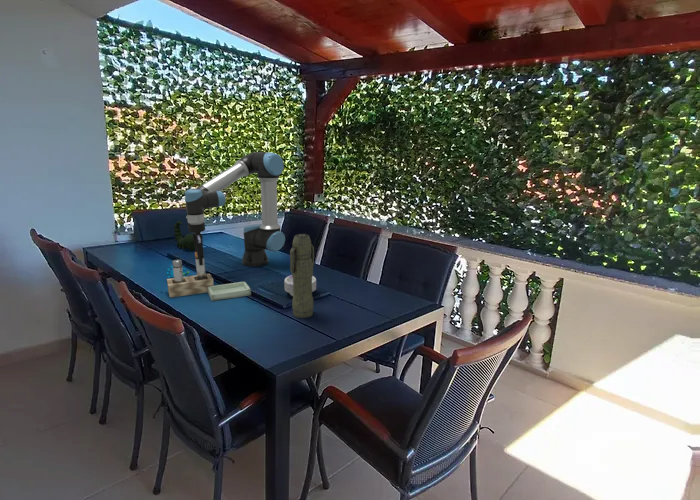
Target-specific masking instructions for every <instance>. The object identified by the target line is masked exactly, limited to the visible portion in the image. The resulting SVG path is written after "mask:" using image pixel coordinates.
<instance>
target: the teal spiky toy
mask: <svg viewBox="0 0 700 500" xmlns="http://www.w3.org/2000/svg"><path fill="white" fill-rule="evenodd" d="M169 267H170V268H169ZM169 267H168V268H167V269H166V276H167V279H171V278H174V271H173V265H170V266H169ZM182 270H183V277H187V276H188V275H189V273H190V271H188V270H186V268H185V267H182Z"/></svg>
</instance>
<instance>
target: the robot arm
mask: <svg viewBox="0 0 700 500" xmlns="http://www.w3.org/2000/svg"><path fill="white" fill-rule="evenodd" d="M234 163H235V164H233V165H231V166H230V167H228V168H227V169H225V170H223V171H222V172H221V173H219V174H217V175H215V176H213V178H211V179H209V180H208V181H205V182H204V183H203V184H201V185H199V186H198V187H196V188H189V189H187V190H185V192H184V203H185V208H186V209H185V210H186V217H185V219H187V223H188V224H187V228H188V229H187V230H188V232H190V233H192V234H193V239H194V246H195V251H194V253H195V252H197V256H198V257H197V258H196V259H197V261H198V271H199V272H201V271H205V272H206V269H205V270H204V262H205V255H204V254H205V253H204V254H203V252H204V246H203V245H204V244H203V243H204V241H203V238H204V237H203V234H202V233H203V232H205V231H206V223H205V209H207V210H208V209H212V208H213V209H214V208H219V207H223V206H224V205H225V204H226V201H227V200H226V195H225V193H224V192H223V191H222V190H224V189H226V188H227V187H229V186H230V185H232V184H234V183H235V182H237V181H238V180H240V179H242V178H243V177H248V176H249V175H252V174H256V175H257V179H258V180H259V181H260V200H261V201H260V202H261V223H255V224H250V225H249V224H248V225H245V226H244V227H243V242H244V253H243V256H242V261H241V262H242V265H243V266H245V267H251V268H253V267H254V268H255V267H262V266H266V265H268V264H269V256H268V254H267V251H268V252H278V251H280V250H281V249H282V247H284V245H285V242H286V237H285V234H284V232H282V231H281V225H279V223H278V221H279V219H278V217H279V216H278V189H277V188H278V184H277V183H278V182H277V181H278V180H279V179H280V175H281V174H282V173H283V171H284V167H285V166H284V161H283V159H282V157H281V155H280V154H278V153H275V152H271V151H269V152H268V151H267V152H266V151H265V152H264V151H253V152H251V153H248V154H246V155H244V156H242V157H241V158H239V159H238V160H236V161H235V162H234ZM203 258H204V259H203Z"/></svg>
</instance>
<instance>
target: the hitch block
mask: <svg viewBox="0 0 700 500" xmlns="http://www.w3.org/2000/svg"><path fill="white" fill-rule="evenodd" d="M183 281H184V282H182V283H175V281H174V278H170V279H168V278H166V282H167V291H168V295H169V298H170V297H171V298H178V297H183V296H185V297H186V296H190V295H196V294H197V295H198V294H204V293H206V294H207V293H208V288H207V287H209V286H215V285H214V278H213V277H212V274H210V273H206V279H204V280H197V274H196V275H189V276H188V275H187V276H186V277H183Z"/></svg>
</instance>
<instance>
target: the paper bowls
mask: <svg viewBox="0 0 700 500" xmlns="http://www.w3.org/2000/svg"><path fill="white" fill-rule="evenodd" d="M283 283H284V291H285V292H286V293H289V295H290V296H291V297H293V277H292V274H291V275H288V276H286V277H285V278H284V282H283ZM316 290H317V278H316V277H315V276H314V275H313V276H312V293H313V292H315V291H316Z"/></svg>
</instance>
